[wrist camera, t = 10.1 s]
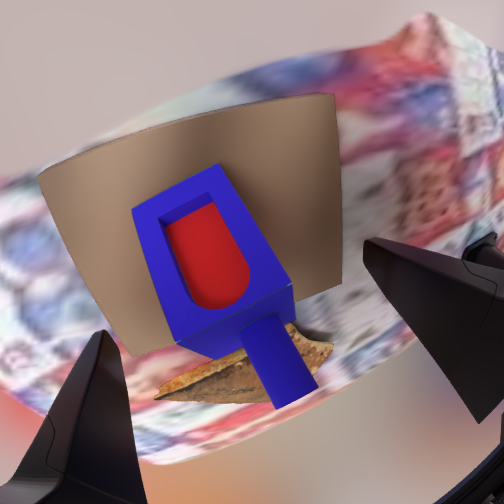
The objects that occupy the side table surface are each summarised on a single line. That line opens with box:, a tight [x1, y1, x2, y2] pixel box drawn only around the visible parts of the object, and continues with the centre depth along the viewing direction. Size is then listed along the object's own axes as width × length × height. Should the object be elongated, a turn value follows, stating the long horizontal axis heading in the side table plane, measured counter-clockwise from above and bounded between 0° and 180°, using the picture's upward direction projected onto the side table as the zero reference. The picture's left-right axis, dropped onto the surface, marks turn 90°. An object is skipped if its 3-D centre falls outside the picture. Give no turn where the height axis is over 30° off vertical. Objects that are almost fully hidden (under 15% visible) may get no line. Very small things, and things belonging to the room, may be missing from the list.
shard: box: [154, 322, 334, 404], centre depth 18 cm, size 11×8×2 cm
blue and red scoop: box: [130, 163, 319, 410], centre depth 10 cm, size 4×4×8 cm
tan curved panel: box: [36, 93, 342, 357], centre depth 13 cm, size 12×10×1 cm
